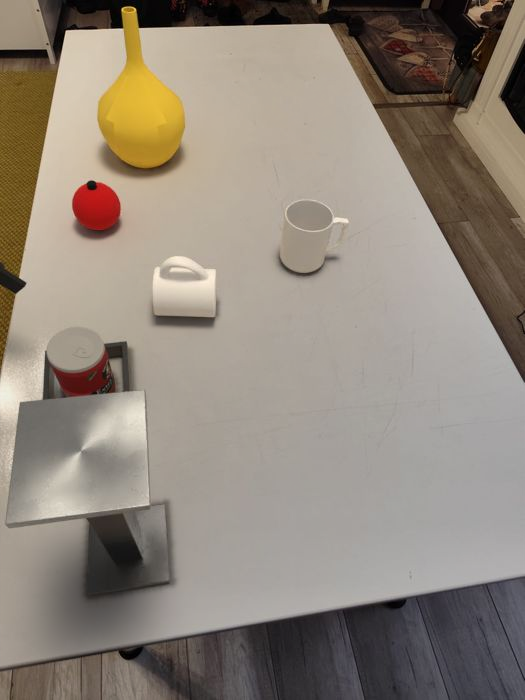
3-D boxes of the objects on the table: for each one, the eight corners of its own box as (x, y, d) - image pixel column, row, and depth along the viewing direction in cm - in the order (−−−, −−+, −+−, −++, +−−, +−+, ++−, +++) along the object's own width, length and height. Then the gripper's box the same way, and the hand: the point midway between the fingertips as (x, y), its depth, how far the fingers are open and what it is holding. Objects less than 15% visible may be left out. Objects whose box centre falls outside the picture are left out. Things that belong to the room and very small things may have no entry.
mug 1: (214, 326, 91) (214, 279, 81) (155, 324, 90) (147, 276, 80) (216, 291, 96) (216, 242, 86) (160, 289, 95) (153, 240, 85)
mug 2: (282, 277, 99) (289, 232, 90) (275, 245, 104) (281, 199, 95) (343, 274, 101) (356, 230, 92) (333, 242, 106) (344, 197, 97)
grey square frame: (133, 418, 79) (130, 408, 77) (47, 430, 77) (41, 420, 75) (129, 351, 86) (126, 340, 84) (49, 360, 84) (44, 350, 82)
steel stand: (84, 600, 64) (4, 524, 40) (87, 512, 70) (19, 401, 46) (174, 586, 66) (149, 505, 42) (169, 501, 72) (145, 389, 48)
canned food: (106, 414, 79) (92, 375, 70) (56, 404, 80) (36, 364, 71) (122, 373, 84) (112, 331, 75) (75, 364, 84) (58, 321, 75)
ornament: (75, 212, 105) (64, 170, 97) (120, 207, 107) (113, 165, 99) (79, 242, 100) (67, 200, 92) (126, 236, 102) (119, 194, 94)
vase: (98, 178, 112) (66, 28, 88) (112, 130, 123) (86, -15, 99) (183, 182, 113) (175, 36, 89) (189, 135, 124) (183, -7, 100)
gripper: (-127, 176, 68) (23, 270, 80) (-257, 324, 53) (-50, 412, 65) (-107, 144, 63) (48, 249, 76) (-243, 296, 49) (-24, 396, 61)
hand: (3, 325), depth 70 cm, fingers open, 13 cm apart
